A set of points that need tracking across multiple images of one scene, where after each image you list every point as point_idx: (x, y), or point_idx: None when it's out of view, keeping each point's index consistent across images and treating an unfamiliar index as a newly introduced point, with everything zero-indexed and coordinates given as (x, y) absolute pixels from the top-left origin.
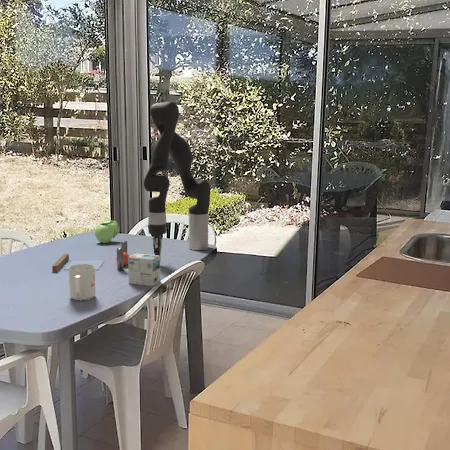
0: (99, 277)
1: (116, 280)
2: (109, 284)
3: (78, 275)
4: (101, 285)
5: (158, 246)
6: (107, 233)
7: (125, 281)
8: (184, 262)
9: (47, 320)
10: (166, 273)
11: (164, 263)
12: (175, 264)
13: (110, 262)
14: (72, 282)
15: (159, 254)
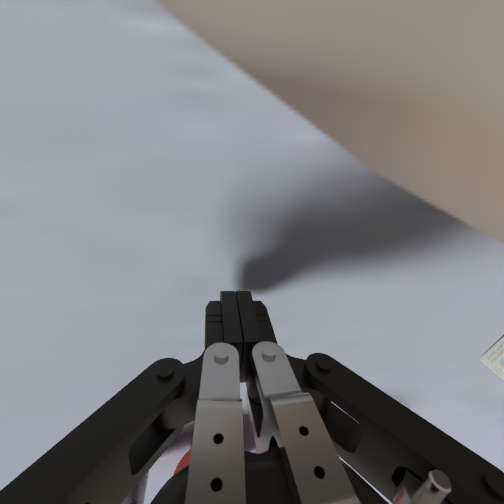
0: None
1: (454, 419)
2: (491, 426)
3: None
4: (488, 442)
5: (483, 469)
6: None
7: (485, 391)
8: (107, 21)
9: None
10: (448, 223)
11: (165, 244)
12: (201, 144)
13: (156, 491)
14: None
15: (261, 344)
